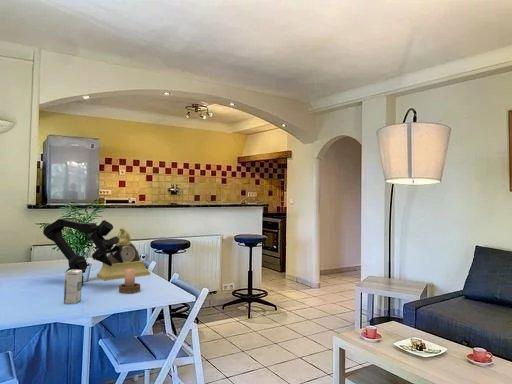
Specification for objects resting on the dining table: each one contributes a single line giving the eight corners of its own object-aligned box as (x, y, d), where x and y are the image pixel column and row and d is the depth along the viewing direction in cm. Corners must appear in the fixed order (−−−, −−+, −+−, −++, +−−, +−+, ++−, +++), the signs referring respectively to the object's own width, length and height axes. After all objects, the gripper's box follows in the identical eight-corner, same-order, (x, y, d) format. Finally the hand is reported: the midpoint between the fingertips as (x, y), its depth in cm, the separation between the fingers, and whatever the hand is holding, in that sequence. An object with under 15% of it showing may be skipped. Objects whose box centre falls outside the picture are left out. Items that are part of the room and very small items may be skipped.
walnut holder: (125, 294, 191) (125, 288, 191) (115, 290, 198) (115, 285, 198) (144, 291, 199) (144, 285, 199) (133, 287, 206) (133, 282, 206)
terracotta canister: (124, 291, 195) (125, 270, 195) (124, 289, 200) (124, 268, 200) (135, 290, 197) (135, 269, 197) (134, 288, 202) (134, 267, 202)
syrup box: (68, 300, 179) (69, 269, 179) (81, 300, 180) (82, 269, 180) (63, 303, 174) (64, 271, 174) (76, 303, 174) (77, 272, 174)
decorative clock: (104, 280, 221) (105, 229, 221) (96, 277, 231) (98, 227, 231) (149, 275, 239) (151, 227, 239) (141, 271, 249) (142, 225, 249)
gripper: (97, 233, 193) (115, 256, 190) (120, 230, 211) (137, 251, 208) (84, 247, 196) (101, 271, 192) (107, 243, 213) (124, 264, 210)
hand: (117, 264), depth 201 cm, fingers open, 9 cm apart
